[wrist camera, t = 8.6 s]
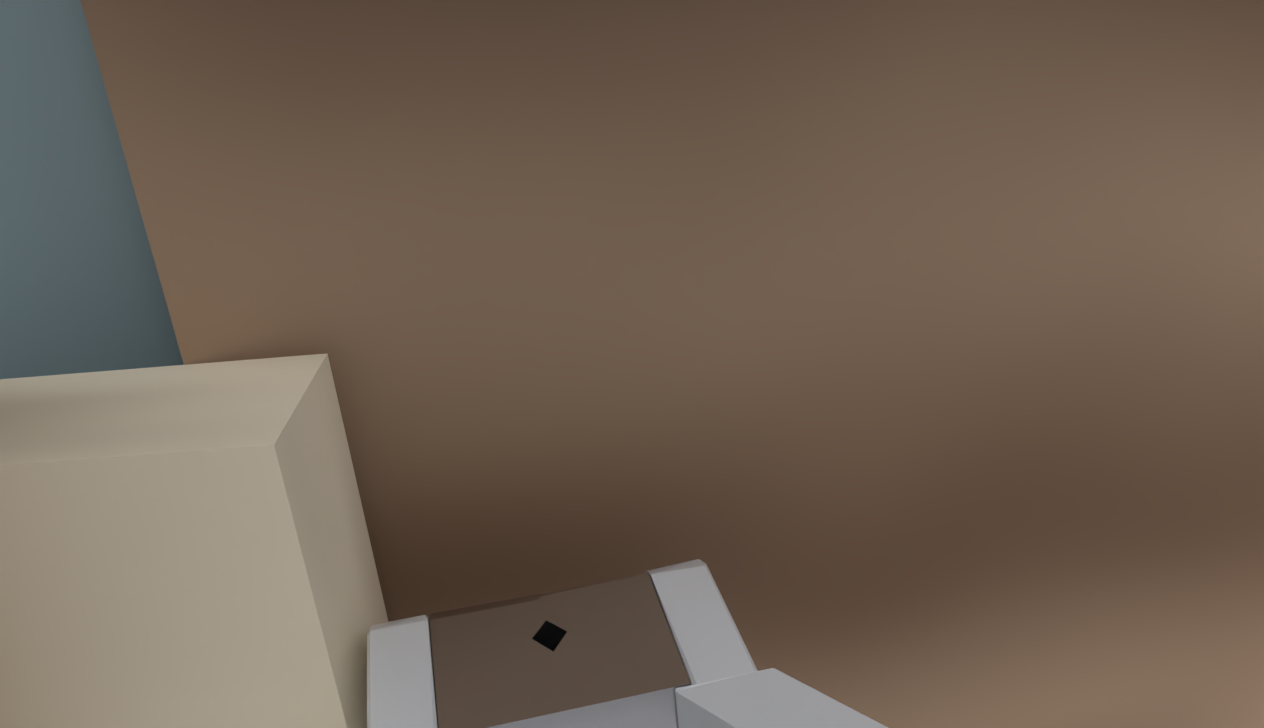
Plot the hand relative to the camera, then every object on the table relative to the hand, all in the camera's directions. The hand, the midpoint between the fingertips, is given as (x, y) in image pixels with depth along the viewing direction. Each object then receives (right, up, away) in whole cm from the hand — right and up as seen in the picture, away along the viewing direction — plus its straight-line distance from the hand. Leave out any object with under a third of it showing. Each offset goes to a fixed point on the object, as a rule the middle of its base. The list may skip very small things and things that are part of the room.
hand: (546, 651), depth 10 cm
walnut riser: (+5, +2, +3) cm, 6 cm away
